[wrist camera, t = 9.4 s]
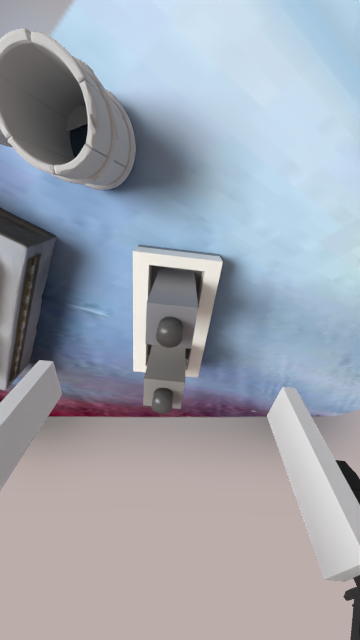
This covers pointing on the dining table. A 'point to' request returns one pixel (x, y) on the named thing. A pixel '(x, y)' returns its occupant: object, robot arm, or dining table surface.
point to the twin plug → (164, 378)
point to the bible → (20, 290)
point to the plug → (172, 309)
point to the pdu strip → (144, 277)
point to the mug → (61, 113)
